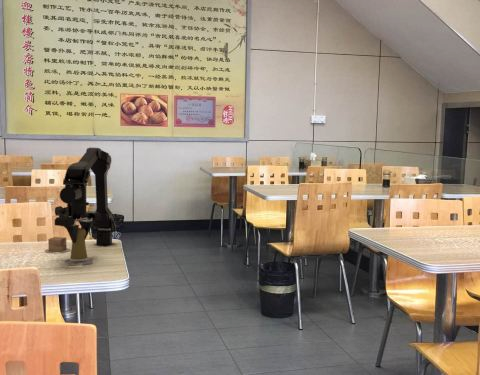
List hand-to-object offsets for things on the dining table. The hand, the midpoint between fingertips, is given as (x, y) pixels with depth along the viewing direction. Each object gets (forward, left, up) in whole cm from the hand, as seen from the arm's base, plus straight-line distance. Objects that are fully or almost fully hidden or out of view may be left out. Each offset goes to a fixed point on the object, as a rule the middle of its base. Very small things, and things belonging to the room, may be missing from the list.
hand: (78, 241), depth 197 cm
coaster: (-9, -19, -8) cm, 22 cm away
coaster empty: (0, 0, -8) cm, 8 cm away
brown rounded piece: (0, 0, -6) cm, 6 cm away
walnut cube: (-9, -19, -7) cm, 22 cm away
